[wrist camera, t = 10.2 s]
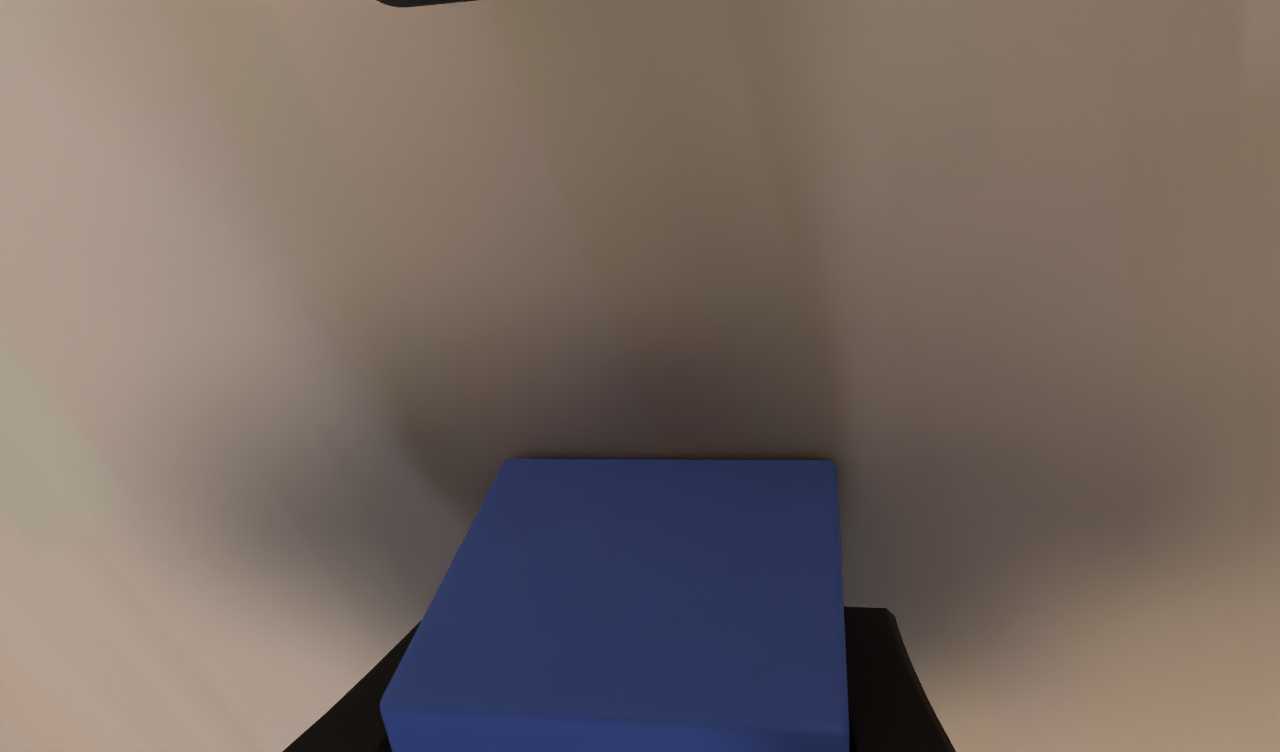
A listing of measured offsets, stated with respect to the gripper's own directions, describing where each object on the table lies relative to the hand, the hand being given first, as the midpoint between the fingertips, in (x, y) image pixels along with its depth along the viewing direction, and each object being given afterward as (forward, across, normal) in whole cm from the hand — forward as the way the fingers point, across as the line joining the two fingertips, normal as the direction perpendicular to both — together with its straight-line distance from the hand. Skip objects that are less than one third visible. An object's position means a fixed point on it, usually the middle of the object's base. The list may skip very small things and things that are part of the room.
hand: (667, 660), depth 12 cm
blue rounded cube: (+1, 0, 0) cm, 1 cm away
